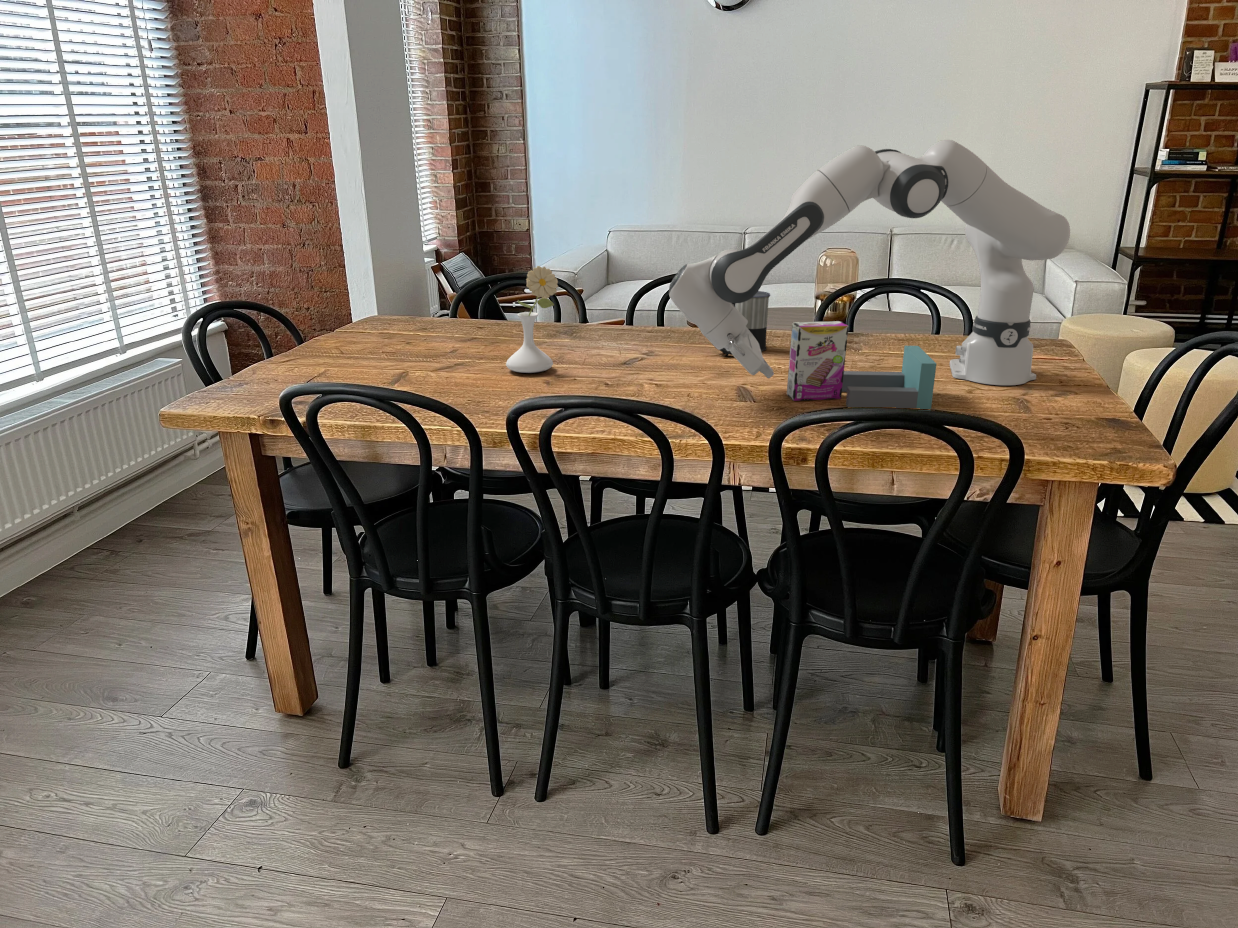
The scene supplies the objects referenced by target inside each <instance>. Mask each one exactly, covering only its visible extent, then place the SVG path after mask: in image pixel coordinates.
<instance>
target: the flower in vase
mask: <svg viewBox="0 0 1238 928" xmlns="http://www.w3.org/2000/svg"><path fill="white" fill-rule="evenodd" d="M525 280H526V288H528V290H529V292H531V295H533V296H535V297H536V299H535V302H534V303H533V305H532V306H531V304H528V303H525V302H522V301H521V300H519V299H517V303H518V304H519V305H520V306H522V307H525V308H527V309H528V308H529V309H530V310H529V311H524V312H519V313H517V317H518V318H519V319H520V322H521V325H522V329H523V343H522V345H521V346H520V348H518V350H516V351H515V352H514V353H513V354H512V355H511V356H510V357H508V359H507V360H506V363H505V366H506V367H507V369H508V370H510V371H512V372H516V373H523V374H524V373H526V374H532V373H534V374H535V373H541V372H544V371H547V370H549V369H551V368H552V366H553V365H554V362H553V359H552V358H551V356H549V355H548V354H546V353H545V352H544V351H543V350H541V349H540V348H539V347H538V346H537V345H536V344H535V340H534V326H535V321H536V319H537V318H538V316H539V313H538V312H533V310H534V308H535V306H536V304H537V305H538V306H539V307H540V308H542V309H548V308H550V307H552V306H555V304H554V303H553V302H552V301H551V300H550V299H549V298H550V296H553V295H555V294H557V291H558V290H557V288H559V285H558V283H559V281H558V278H557V277H556V275H555V274H554V273H553V271H552V270H551V269H550V268H547V267H546V266H540V265H537V266H536V267H533V268H532V270H530V271H528V272H527V274H526V279H525ZM539 298H540V299H539Z"/></svg>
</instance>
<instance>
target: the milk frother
mask: <svg viewBox="0 0 1238 928" xmlns="http://www.w3.org/2000/svg"><path fill="white" fill-rule="evenodd" d="M770 297H771V293H770V292H768V291H761V290H758V292H757V293H756V294H755V295H754V296H753V297H752V298H751V299H749V300H748V301H745V302H742V303H731V304H732V305H733V306H734V307H735V308H736V309H737V310H738V311H739V312H740V313H741V314H742V315H743V316H744V317H745V318H746V319H747V320H748V323H747V325H746V327H747V328H748V329H749V331H750V332H751V333H752V335H753V336H754V337H755V339H756V340H757V341H758V343H759V346H760V349H761V352H764V351H766V350H767V328H768V327H767V326H768V315H769V314H768V313H769V301H770ZM711 345H712V346H713V347H714V348H715V349H717V348H716V347H715V346H714V345H713V344H712V343H711ZM719 351H720V352H722V354H724V355H725V356H726V357H727V356H729V355H731V356H733V355H732V353H731V352H730V351H727V350H726V349H725V348H722V349H720V350H719Z"/></svg>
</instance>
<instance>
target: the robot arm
mask: <svg viewBox="0 0 1238 928" xmlns="http://www.w3.org/2000/svg"><path fill="white" fill-rule="evenodd" d="M870 199H874V200H875V202H877V203H878V204H879V205H881V206H883V207H884V208H885V209H888V210H890V211H892V212H894V213H896V214H897V215H898V216H901V217H903V218H906V219H908V218H909V219H921V218H924V217H925V216H927V215H929V214H930V213H932V211H934V210H935V209H936V207H938V206H939V204H940V203H942V204H944V205H945V206H946V207H947V208H948V209H949V210H950V211H951V212H952V213H954V214H955V215H956V216H957V217H958V218H959V219H960V220H961V221H962V222H964V223H965V227H964V235H965V238H966V241H967V243H968V244H969V245H970V246H971V248H972V251H974V255H975V257H976V260H977V264H978V268H979V276H980V290H979V292H980V293H979V301H978V309H977V315H976V316H975V318H974V320H973V324H972V327H971V329H972V332H971V333H970V334H969V335H968V336H967V337H966V338H965V340H964V341H962V343H961V345H956V347H955V356H959V358H954V359H950V361H949V367H950V371H951V375H952V378H955V379H959V380H966V381H971V382H974V383H979V384H985V385H995V386H1016V385H1023V384H1026V383H1027V382H1029V381H1033V380H1034V381H1035V380H1037V374H1036V373H1034V372H1032V364H1033V363H1032V362H1033V356H1034V355H1033V354H1034V344H1033V343H1032V342H1031V341H1030V339H1029V338H1028V337H1029V336H1030V331H1031V327H1032V326H1031V322H1032V321H1031V319H1030V315H1031V309H1032V303H1033V297H1034V287H1035V286H1034V284H1033V281H1032V280H1031V278H1030V277H1029V276H1028V275H1027V273H1026V271H1025V268H1024V266H1023V265H1024V264H1023V261H1022V260H1026V261H1045V260H1052V259H1055V258H1056V257H1058V256H1060V255H1061V254H1062V253H1063V251H1065V249H1066V247H1067V246H1068V244H1069V241H1070V239H1071V228H1070V223H1069V221H1068V219H1067V218H1066V217H1065V215H1062V214H1060V213H1057V212H1056V211H1053V210H1051V209H1049V208H1047V207H1045V206H1044V205H1042V204H1040V203H1039V202H1037V201H1035V200H1034V199H1032V198H1031V197H1029V196H1028V195H1026V194H1025V193H1023V192H1022V191H1019V190H1018V189H1016V188H1014V187H1013V186H1011V185H1010V184H1009V183H1007V182H1006V181H1004V180H1003V178H1001V177H1000V175H998V174H997V173H996V172H995V171H994V170H993V169H992V168H990V166H989V165H987V163H985V162H984V161H983V160H982V159H981V158H980V157H979V156H977V154H975V153H974V152H973V151H971V150H970V149H968V148H967V147H965V146H964V145H962V144H960V143H959V142H957V141H954V140H952V139H943V140H939V141H937V142H934V143H933V144H932V145H930V146H929V147H928V148H927V149H926V150H925V152H924V153H923V154H922V156H919V157H915V156H911V155H909V154H906V153H903V152H901V151H899V150H897V149H891V148H882V149H878V150H873V149H872V148H870V147H868V146H866V145H860V144H859V145H855V146H852V147H850V148H849V149H846V150H844V151H843V152H841V153H840V154H838V155H836V156H834V158H833V157H832V158H831V159H829V161H827V162H826V163H824V164H823V165H821V166H820V167H819V168H818V169H817V170H815V171H814V172H813V173H812V174H810V175H809V176H808V177H807V178H806V179H805V180H804V181H803V182H802V183H801V184H800V185H799V187H798V188H797V189H796V190H795V191H794V192H793V194H792V195H791V198H790V201H789V206H788V208H787V211H786V212H785V214H784V216H783V217H782V218H781V219H780V220H779V221H778V222H777V223H776V224H775V225H774V226H772V227H771V228H770V229H769V230H768V231H766V232H765V233H764V234H763V235H762V236H760V238H758V239H757V240H755V242H754V243H753V244H751V245H750V246H748V247H746V248H743V249H740V250H738V249H731V248H729V249H725V250H722V251H720V252H719V253H716V254H715V255H713V256H711V257H709V258H706V259H704V260H701V261H698V262H694V263H685V264H684V265H683V266H682V267H680V269H679V270H678V271H677V273H676V274H675V275H674V277H673V278H672V280H671V282H670V284H669V286H668V295H669V298H670V301H672V303H674V306H675V307H676V308H678V309H677V310H679V311H680V312H681V314H682V315H684V317H685V318H686V319H687V320H688V321H689V322H691V323H693V324H694V325H696V327H698V329H699V331H700V332H701V334H702V335H703V336H704V337H705V338H706V339H707V340H708V341H709V342H710V343H711V345H712V344H713V345H714V346H715V347H716V348H715V347H714V346H713V345H712V346H713V347H714V348H715V349H717V350H718V351H720V349H722V348H725V349H726V350H727V351H730V352H731V353H732V355H731V356H733V357H734V358H735V359H736V361H737V362H739V364H740V365H741V367H743V368H744V369H745V370H746V371H747V372H748V373H749V374H750V375H751V376H755V375H756V374H758V373H759V372H760V373H761V374H763V375H764V377H766V378H767V379H771V378H772V377H773V376H774V374H775V373H774V370H773V368H772V367H771V366H770V364H768V362H767V360H765V358H764V355H763V353H762V351H761V349H760V346H759V343H758V341H757V340H756V339H755V337H754V336H753V335H752V333H751V332H750V331H749V329H748V328H747V327H746V325H747V323H748V320H747V319H746V318H745V317H744V316H743V315H742V314H741V313H740V312H739V311H738V310H737V309H736V308H735V307H734V304H731V303H742V302H745V301H748V300H749V299H751V298H752V297H753V296H754V295H755V294H756V293H757V292H758V291H760V289H761V287H762V285H763V283H764V282H765V279H766V278H767V276H768V275H769V274H770V272H771V271H772V270H773V269H774V268H775V267H776V266H778V265H779V264H780V263H781V262H782V261H784V260H785V259H786V258H787V257H788V256H789V255H790V254H792V253H793V252H794V251H795V250H796V249H797V248H799V247H800V246H801V245H802V244H804V242H806V241H808V240H809V239H811V238H812V237H815V236H816V235H818V234H820V233H822V232H824V231H826V230H827V229H829V228H831V227H832V226H833V225H835V224H837V223H838V222H839V221H841V220H842V219H844V218H845V217H846V216H848V215H849V214H850V213H851V212H852V211H854V210H855V209H856V208H858V206H860V205H861V204H862V203H864V202H865V201H868V200H870Z"/></svg>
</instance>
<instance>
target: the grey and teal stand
mask: <svg viewBox="0 0 1238 928" xmlns="http://www.w3.org/2000/svg"><path fill="white" fill-rule="evenodd" d="M903 348H904V349H903V357H902V366H901V367H902V368H901V371H872V370H871V371H867V370H864V371H863V370H862V371H861V370H857V371H856V370H844V376H843V385H842V393H845V392H846V399H845V407H896V408H920V409H931V410H932V403H933V398H934V397H933V395H934V389H935V387H934V385H935V379H936V371H937V362H935V361H934V359H933V358H931V356H929V355H928V354H927V352H925V350H923V349H922V348H921V347H920V346H919V345H904V347H903Z"/></svg>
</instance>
